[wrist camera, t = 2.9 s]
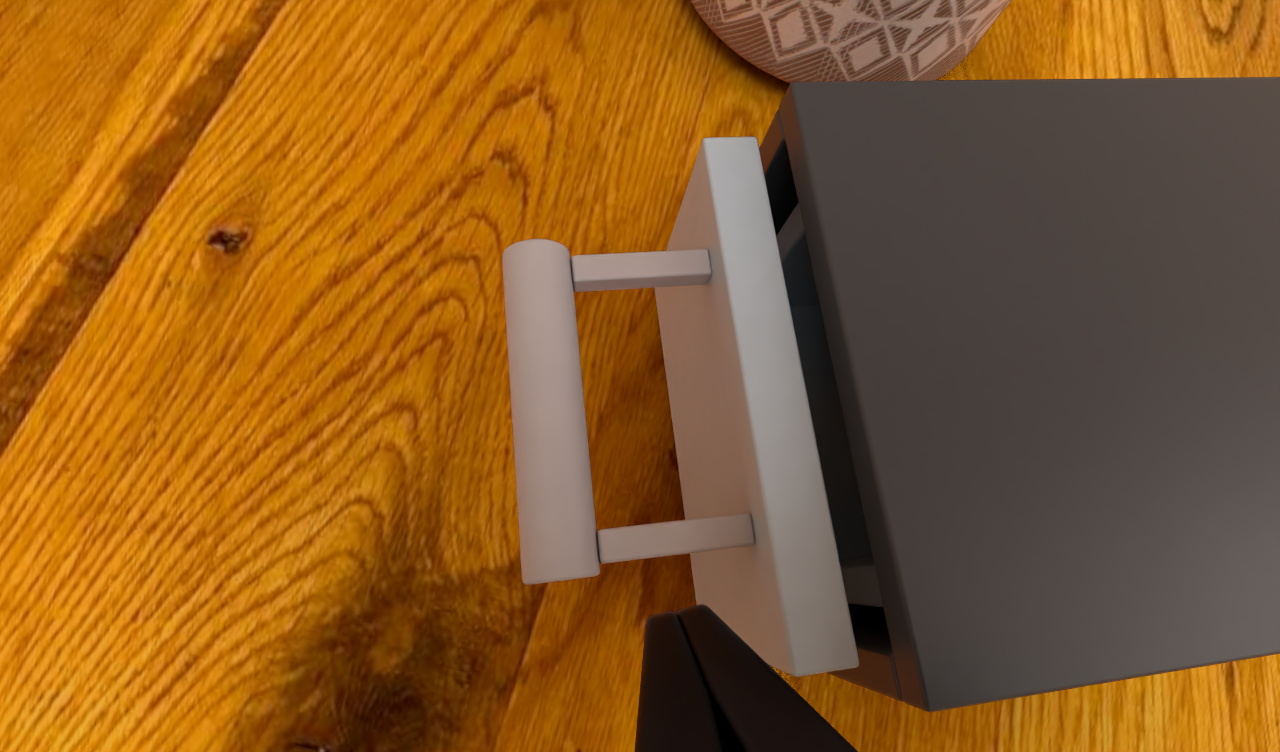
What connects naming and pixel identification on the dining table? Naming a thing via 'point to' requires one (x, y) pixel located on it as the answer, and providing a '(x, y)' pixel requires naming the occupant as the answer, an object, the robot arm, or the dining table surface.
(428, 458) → the dining table surface
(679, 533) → the drawer
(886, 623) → the dark grey cabinet
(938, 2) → the planter
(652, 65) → the dining table surface
